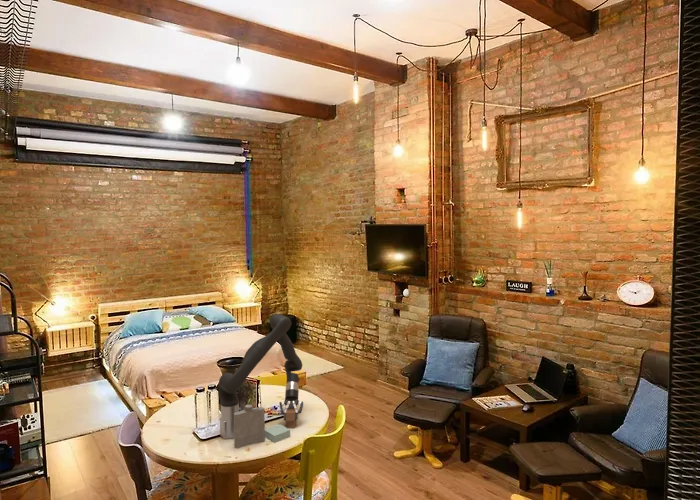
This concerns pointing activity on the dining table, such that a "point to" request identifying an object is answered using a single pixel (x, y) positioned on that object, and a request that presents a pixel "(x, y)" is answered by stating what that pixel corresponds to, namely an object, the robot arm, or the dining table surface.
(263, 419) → the hip flask
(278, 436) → the plinth block
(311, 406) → the dining table surface
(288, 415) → the walnut block
